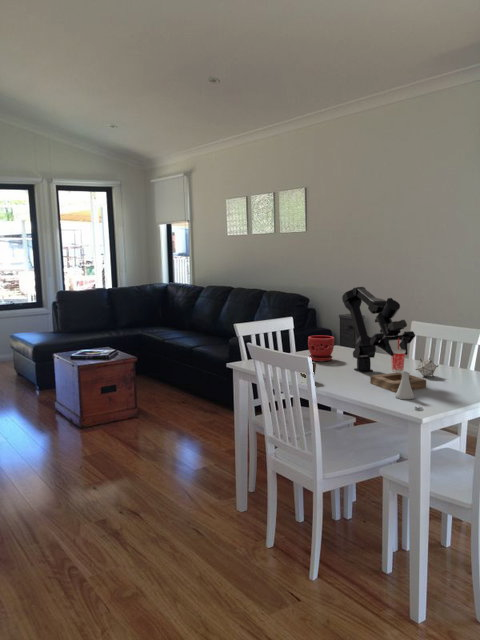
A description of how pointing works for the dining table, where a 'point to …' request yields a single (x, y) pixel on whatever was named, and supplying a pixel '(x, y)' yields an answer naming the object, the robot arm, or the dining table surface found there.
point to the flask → (405, 387)
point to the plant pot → (321, 347)
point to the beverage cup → (398, 359)
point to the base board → (396, 381)
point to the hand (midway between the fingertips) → (399, 355)
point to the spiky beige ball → (426, 367)
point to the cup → (313, 370)
